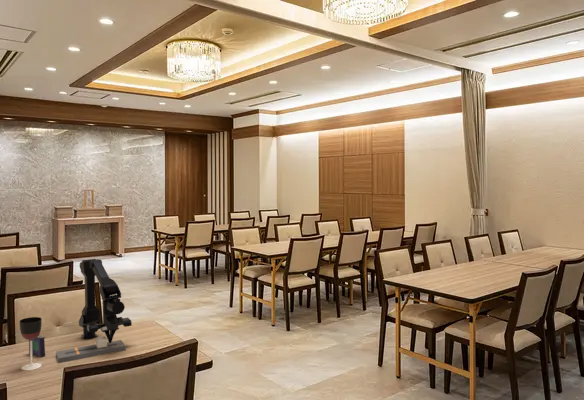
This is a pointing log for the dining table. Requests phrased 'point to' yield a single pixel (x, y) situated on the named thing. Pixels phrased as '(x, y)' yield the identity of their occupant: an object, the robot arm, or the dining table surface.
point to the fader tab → (101, 342)
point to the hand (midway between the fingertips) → (110, 343)
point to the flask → (38, 346)
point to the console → (89, 351)
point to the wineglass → (30, 336)
